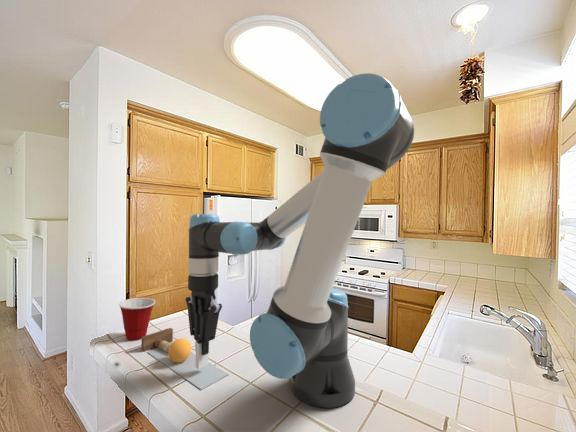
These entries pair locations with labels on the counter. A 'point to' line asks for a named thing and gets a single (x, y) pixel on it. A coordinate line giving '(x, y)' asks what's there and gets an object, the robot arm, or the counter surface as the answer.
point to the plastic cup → (136, 317)
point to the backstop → (150, 339)
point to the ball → (179, 350)
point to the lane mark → (191, 369)
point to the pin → (162, 344)
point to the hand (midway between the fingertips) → (201, 365)
